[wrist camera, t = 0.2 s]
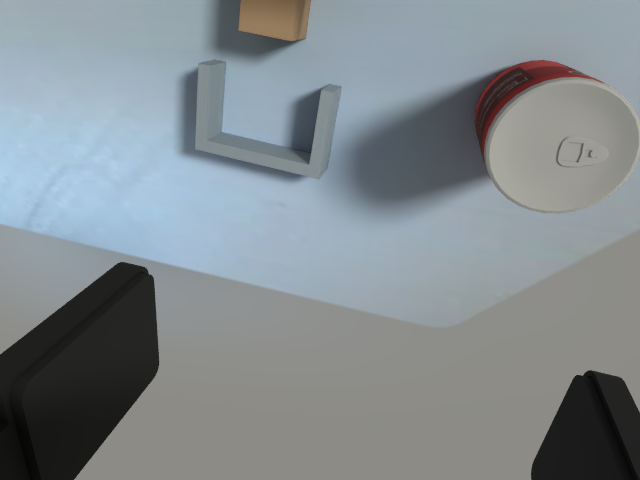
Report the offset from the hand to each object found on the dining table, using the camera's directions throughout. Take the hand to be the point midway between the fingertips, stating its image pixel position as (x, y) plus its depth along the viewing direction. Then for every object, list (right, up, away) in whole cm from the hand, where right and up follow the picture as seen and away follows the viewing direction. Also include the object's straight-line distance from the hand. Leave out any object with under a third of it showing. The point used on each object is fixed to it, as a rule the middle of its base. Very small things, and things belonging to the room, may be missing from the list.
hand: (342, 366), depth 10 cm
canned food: (+15, +13, +25) cm, 32 cm away
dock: (-5, +13, +30) cm, 33 cm away
